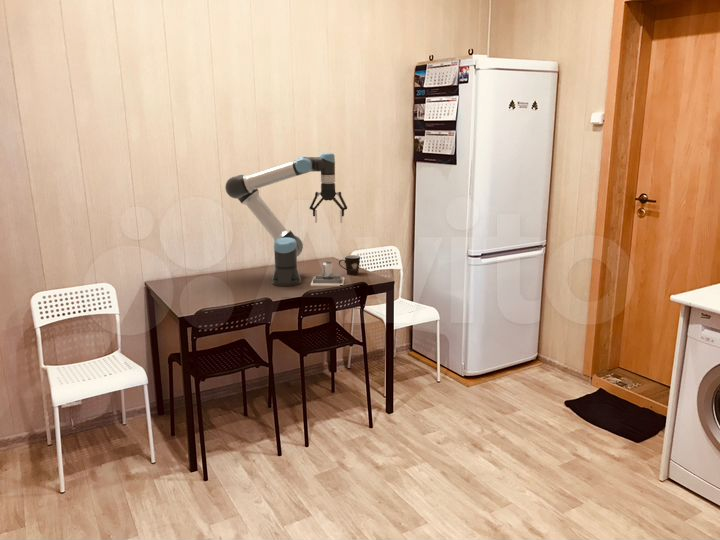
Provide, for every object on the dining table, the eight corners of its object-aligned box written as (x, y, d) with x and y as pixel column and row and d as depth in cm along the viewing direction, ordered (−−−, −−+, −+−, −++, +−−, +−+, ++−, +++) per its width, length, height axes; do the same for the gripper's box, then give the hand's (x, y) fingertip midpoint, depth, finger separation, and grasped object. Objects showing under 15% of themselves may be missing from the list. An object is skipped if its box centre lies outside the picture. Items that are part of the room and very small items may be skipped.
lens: (322, 282, 304) (321, 263, 301) (322, 279, 309) (322, 261, 307) (333, 282, 303) (332, 263, 301) (333, 279, 309) (333, 261, 307)
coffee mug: (360, 272, 328) (360, 255, 326) (359, 275, 320) (359, 258, 318) (340, 271, 329) (340, 254, 327) (338, 275, 321) (338, 258, 319)
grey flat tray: (310, 285, 299) (310, 281, 298) (313, 278, 315) (313, 274, 314) (343, 285, 299) (342, 281, 298) (344, 278, 314) (344, 274, 314)
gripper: (303, 183, 301) (304, 223, 306) (351, 183, 300) (351, 223, 305) (305, 182, 308) (306, 221, 313) (351, 182, 308) (352, 221, 312)
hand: (328, 222), depth 309 cm, fingers open, 13 cm apart
